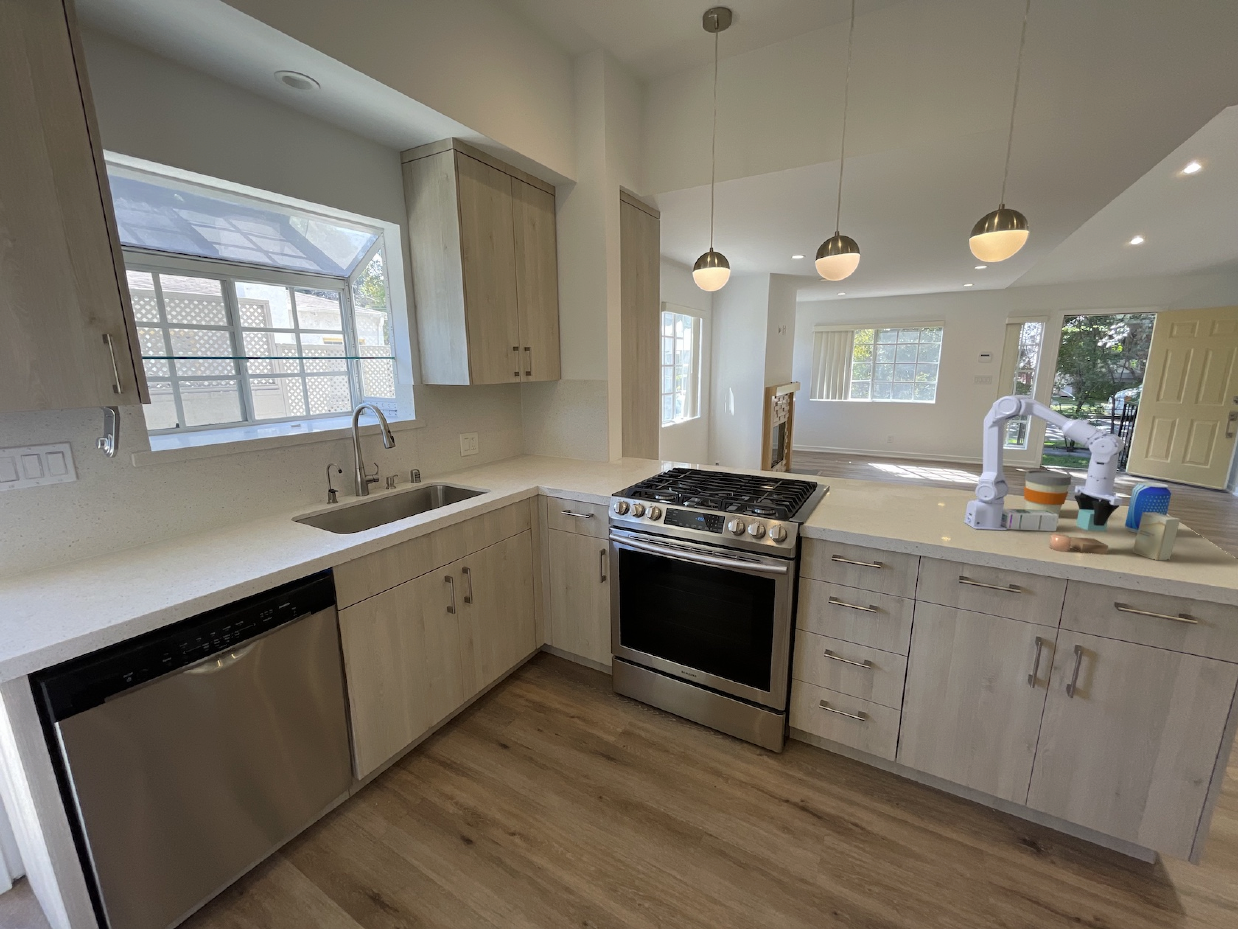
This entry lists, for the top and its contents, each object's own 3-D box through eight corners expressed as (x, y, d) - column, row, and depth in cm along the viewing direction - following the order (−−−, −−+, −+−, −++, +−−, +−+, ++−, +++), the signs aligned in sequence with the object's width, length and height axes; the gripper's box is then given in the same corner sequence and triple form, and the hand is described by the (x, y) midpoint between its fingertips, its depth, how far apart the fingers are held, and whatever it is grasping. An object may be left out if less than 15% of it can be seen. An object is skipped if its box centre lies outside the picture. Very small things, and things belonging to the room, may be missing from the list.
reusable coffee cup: (1065, 521, 169) (1072, 479, 166) (1018, 514, 177) (1025, 474, 174) (1064, 513, 178) (1071, 473, 175) (1020, 507, 186) (1026, 468, 183)
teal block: (1105, 531, 140) (1108, 514, 139) (1087, 530, 141) (1090, 513, 140) (1093, 526, 144) (1097, 510, 143) (1076, 525, 145) (1079, 509, 144)
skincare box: (1131, 552, 141) (1140, 512, 139) (1145, 551, 142) (1154, 511, 139) (1157, 561, 135) (1166, 519, 133) (1171, 560, 136) (1181, 518, 133)
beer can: (1150, 529, 161) (1161, 482, 157) (1169, 537, 153) (1180, 488, 150) (1118, 526, 163) (1127, 480, 160) (1134, 534, 156) (1144, 486, 152)
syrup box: (1059, 514, 158) (1008, 512, 161) (1056, 532, 159) (1006, 529, 162) (1047, 510, 163) (999, 507, 166) (1044, 526, 165) (996, 524, 167)
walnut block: (1081, 553, 142) (1083, 544, 141) (1068, 546, 147) (1069, 536, 147) (1106, 555, 140) (1108, 545, 140) (1092, 548, 146) (1093, 538, 145)
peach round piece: (1056, 551, 143) (1058, 538, 142) (1045, 546, 147) (1047, 533, 146) (1073, 552, 142) (1075, 539, 141) (1062, 546, 146) (1064, 534, 145)
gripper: (1138, 483, 132) (1129, 531, 134) (1097, 472, 146) (1088, 515, 148) (1108, 482, 133) (1099, 530, 136) (1070, 471, 147) (1062, 514, 150)
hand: (1092, 522), depth 142 cm, fingers closed on teal block, 4 cm apart
